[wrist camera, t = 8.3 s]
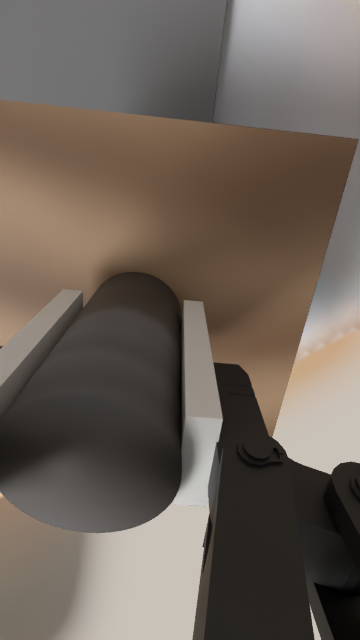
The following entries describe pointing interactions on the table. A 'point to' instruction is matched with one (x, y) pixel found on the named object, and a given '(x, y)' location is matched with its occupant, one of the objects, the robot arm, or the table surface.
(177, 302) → the lid
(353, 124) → the table surface
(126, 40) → the mat
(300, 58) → the table surface
